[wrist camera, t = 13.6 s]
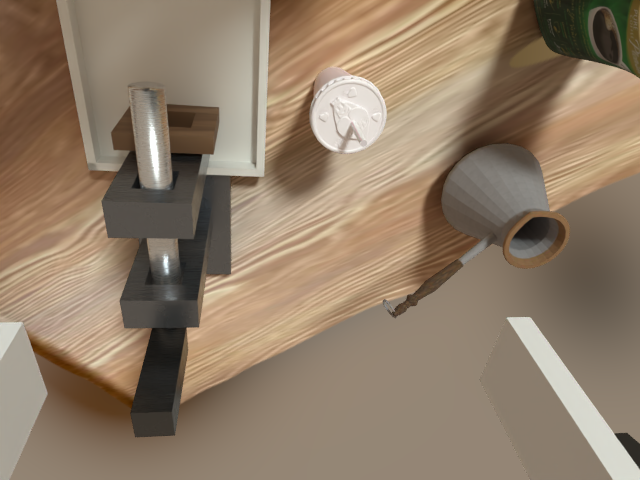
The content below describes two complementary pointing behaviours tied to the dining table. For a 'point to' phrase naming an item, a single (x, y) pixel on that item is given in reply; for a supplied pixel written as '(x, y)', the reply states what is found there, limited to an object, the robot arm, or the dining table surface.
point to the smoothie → (346, 111)
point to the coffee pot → (498, 212)
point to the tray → (171, 70)
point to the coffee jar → (593, 30)
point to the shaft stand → (171, 237)
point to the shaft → (157, 271)
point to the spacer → (177, 129)
